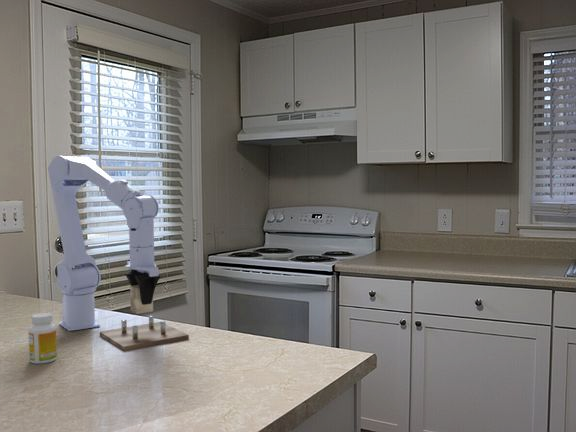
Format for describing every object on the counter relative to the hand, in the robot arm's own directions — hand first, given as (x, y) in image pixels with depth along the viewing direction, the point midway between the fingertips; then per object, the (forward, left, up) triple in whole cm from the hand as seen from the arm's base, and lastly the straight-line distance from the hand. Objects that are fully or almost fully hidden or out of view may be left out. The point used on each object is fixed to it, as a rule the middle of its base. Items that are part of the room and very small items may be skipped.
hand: (143, 302), depth 140 cm
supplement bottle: (+4, -24, -9) cm, 26 cm away
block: (0, 0, -2) cm, 2 cm away
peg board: (0, 0, -8) cm, 8 cm away
